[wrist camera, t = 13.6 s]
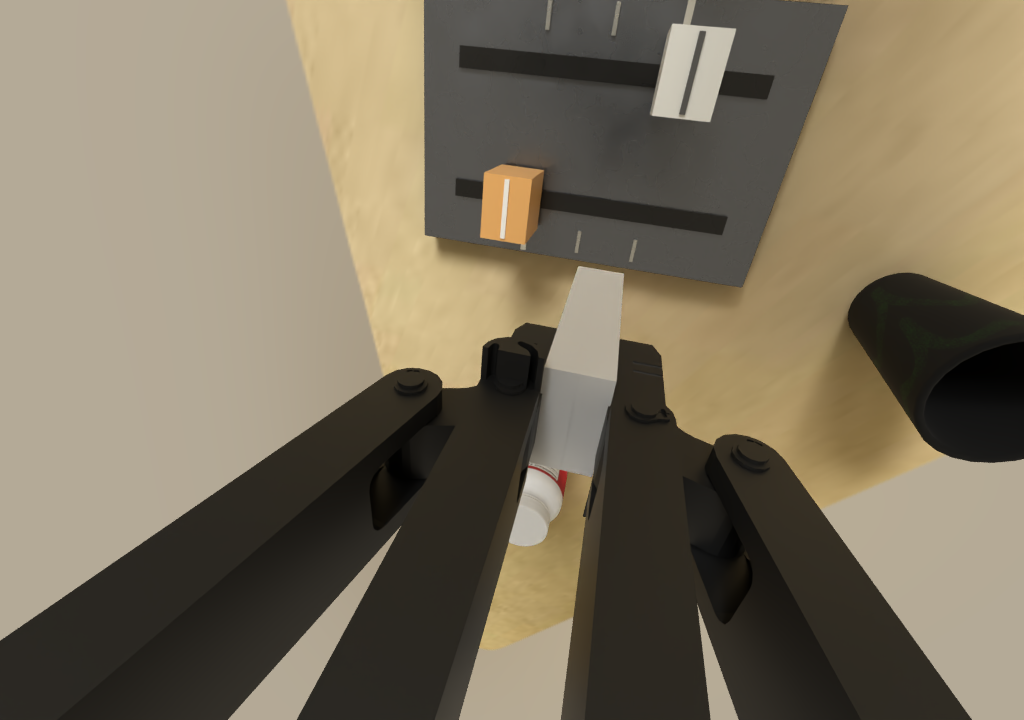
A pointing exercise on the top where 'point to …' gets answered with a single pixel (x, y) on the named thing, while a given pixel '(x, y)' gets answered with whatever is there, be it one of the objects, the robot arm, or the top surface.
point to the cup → (947, 363)
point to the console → (618, 125)
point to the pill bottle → (538, 504)
